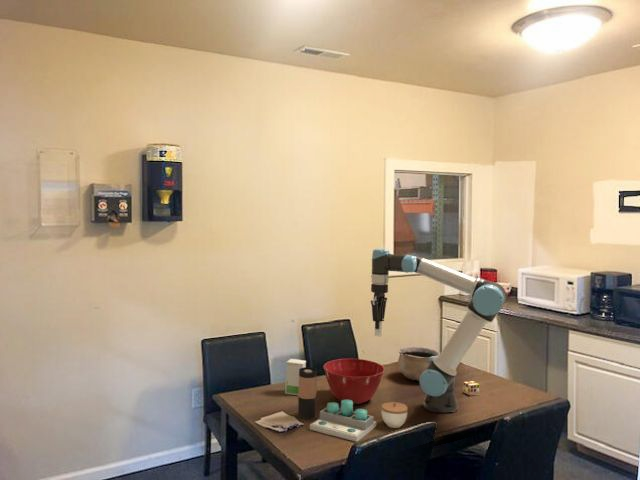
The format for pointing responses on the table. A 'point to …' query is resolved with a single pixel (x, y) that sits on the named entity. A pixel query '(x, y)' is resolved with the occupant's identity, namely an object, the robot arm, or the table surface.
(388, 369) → the table surface
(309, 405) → the travel mug
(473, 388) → the rubik's cube
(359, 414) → the button
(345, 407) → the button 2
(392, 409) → the lidded jar
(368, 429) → the button panel
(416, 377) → the ceramic bowl
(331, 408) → the button
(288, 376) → the skincare box
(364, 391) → the mixing bowl
